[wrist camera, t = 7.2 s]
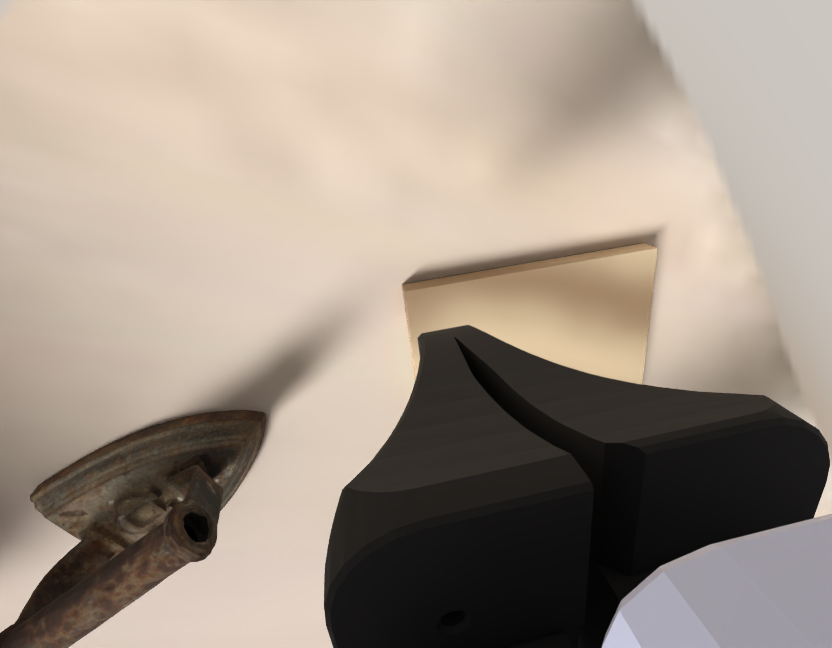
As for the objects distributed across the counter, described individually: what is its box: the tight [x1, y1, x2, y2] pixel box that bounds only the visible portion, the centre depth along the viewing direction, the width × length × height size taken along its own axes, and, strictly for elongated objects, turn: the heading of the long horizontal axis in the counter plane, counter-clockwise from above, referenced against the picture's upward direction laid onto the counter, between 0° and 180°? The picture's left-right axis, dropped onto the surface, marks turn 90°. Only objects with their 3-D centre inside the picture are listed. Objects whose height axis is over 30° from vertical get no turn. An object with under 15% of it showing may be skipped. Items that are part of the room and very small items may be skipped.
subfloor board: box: [402, 243, 658, 384], centre depth 24 cm, size 17×12×1 cm
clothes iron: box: [0, 410, 266, 648], centre depth 19 cm, size 7×11×10 cm, turn 125°
